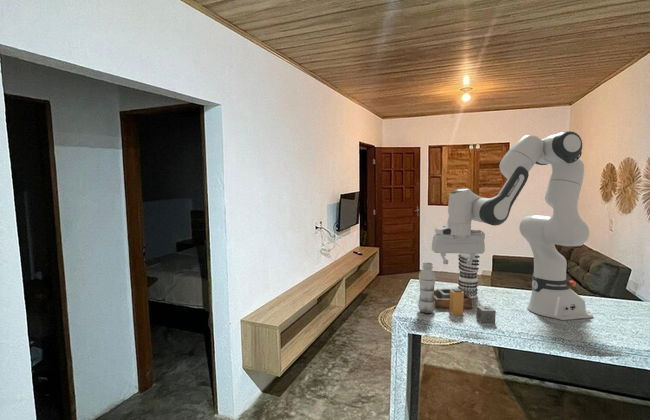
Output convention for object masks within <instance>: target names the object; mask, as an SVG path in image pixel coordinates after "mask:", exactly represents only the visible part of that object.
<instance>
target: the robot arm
mask: <svg viewBox="0 0 650 420" xmlns="http://www.w3.org/2000/svg"><path fill="white" fill-rule="evenodd" d="M582 150H583V140H582V137H581V136H580V134H578V133H577V132H574V131H560V132H559V133H556V134H555V133H554V134H552V135H549V136H546V137H545V138H542V139H541V138H540V137H538V136H536V135H534V134H527V135H524V136H522V137H521V138H520V139H518V141H516V142H515V143H514V144H513V145H512V146H511V147H510V148H509V149H508V151H507V152H506V153H505V154H504V156H503V157H502V159H501V160H500V163H499V171H500V173H501V175H503V176H504V177H505V178H506V181H505V183H504V184H503V186H502V187H501V189H500V190H499V192H498V193H497V195H495V196H492V197H490V198H489V197H483V196H480V195H478V194H476V193H474V192H472V190H471V189H470V188H458V189H454V190H452V191H451V192H450V194H449V196H448V197H449V198H448V204H447V205H448V206H447V213H448V217H447V221H446V223H447V224H444V225H441V226H438V227H435V228H434V232H435V234H434V235H433V237H432V240H431V241H432V242H431V250H432V252H433V253H435V254H440V257H441V259H442V263H443V265H449V260H448V259H447V258H446V255H447V254H460V253H467V254H470V258H469V260H467V262H466V263H467V264H468V265H472V260H473V259H474V257H475V254H478V255H481V254H484V253H485V250H486V249H485V247H486V244H485V239H486V238H485V237H486V234H485V232H484V231H482V230H481V229H472V221H475V222H479V223H483V224H486V225H490V226H500V225H502V224H504V223H505V222H506V221H507V219H508V218H509V216H510V213H511V209H512V207H513V205H514V203H515V202H516V200H517V199H518V196H519V195H520V193H521V192H522V190H523V189H524V187H525V185H526V183H527V181H528V178H529V176H530V175H529V172H531V170H532V169H533V167H534V166H535V165H538V166H547V165H551V169H552V172H551V175H550V178H549V181H548V185H547V188H546V192H545V195H544V200H545V203H546V204H547V205H548V206H549V207H551V208H552V209H553V213H552V215H541V214H536V215H535V214H534V215H527V216H524V217H523V218H522V220H521V221H520V223H519V233H520V234H521V235H522V237H523V238H524V239H525V240H526V241H527V243H528V244H529V246H530V249H531V252H532V254H533V255H532V256H533V274H532V277H531V278H532V279H531V288H532V289H531V295H530V299H529V303H528V304H527V307H526V309H528V311H530V312H532V313H534V314H536V315H540V316H544V317H547V318H548V317H549V318H553V319H557V320H560V321H569V320H570V321H571V320H578V319H589V318H593V317H594V315H593V313H592V312H591V311H590V310H588V309H587V305H586V302H585V299H584V298H583V297H582V296H580V295H579V294H577V293H576V292H575V291H574V290H573V289H571V287H576V285H577V282H576V281H574V280H569V279H567V266H568V265H567V260H566V258H565V256H564V255H563V254H561V253H560V252H559V251H558V250H557V248H556V245H558V246H561V247H562V246H563V247H580V246H583V245H584V244H585V243H586V242H588V240H589V237H590V227H589V226H588V225H587V223H586V222H585V221H584V220H583V219H582V218H581V216H580V213H579V211H578V201H579V198H580V193H581V190H582V186H583V181H584V177H585V164H584V162H583V161H582V160H581V159H580V158H581V157H582V154H583V153H582ZM570 286H571V287H570Z"/></svg>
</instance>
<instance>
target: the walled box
mask: <svg viewBox="0 0 650 420" xmlns="http://www.w3.org/2000/svg"><path fill="white" fill-rule="evenodd" d="M452 289H453V288H436V289H434V301H435V310H448V309H449V305H450V290H452ZM464 309H465V310H468V309H469V310H472V309H473V298H470V297H469V296H467V295H466V294H465V293H464V301H463V310H464Z"/></svg>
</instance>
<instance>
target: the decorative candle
mask: <svg viewBox="0 0 650 420" xmlns="http://www.w3.org/2000/svg"><path fill="white" fill-rule="evenodd" d="M480 257H481V256H480V254H475V257H474V259H473V260H472V265H468V264H467V263H466V262H467V260H469V258H470V254H467V253H458V271H459V277H458V281H457V282H458V283H457V284H458V286H457V289H460V290H462V292H464V293H465V294H466V295H467V296H469V297H470V298H471V299H476V298H477V297H478V294H479V293H478V287H479V286H478V283H479V281H478V272H479V270H480V269H479V267H478V266H479V265H480V260H479V258H480Z"/></svg>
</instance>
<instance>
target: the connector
mask: <svg viewBox="0 0 650 420" xmlns="http://www.w3.org/2000/svg"><path fill="white" fill-rule="evenodd" d="M451 289H452V290H450V305H449V312H450V314H452V315H453V316H456V315H457V316H460V315H462V316H463V315H464V309H463V301H464V292H462V290H460V289H458V288H451Z"/></svg>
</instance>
